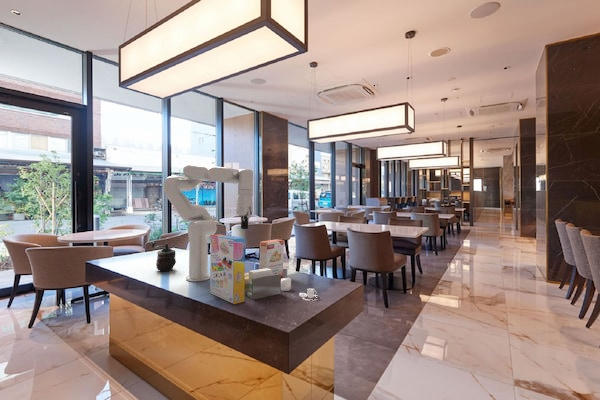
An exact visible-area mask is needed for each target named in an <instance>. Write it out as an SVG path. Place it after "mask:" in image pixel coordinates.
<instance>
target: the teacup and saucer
mask: <svg viewBox="0 0 600 400" xmlns="http://www.w3.org/2000/svg"><path fill="white" fill-rule="evenodd" d="M317 293H318V292H317V291H316V290H315V288H307V289H306V293H305V292H299V294H298V296H299V297H300V298H301V299H302V300H305V301H309V299H314V300H313V301H317V300H318V299H316V298H314V297H316V296H318V295H317Z"/></svg>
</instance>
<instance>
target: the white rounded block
mask: <svg viewBox="0 0 600 400" xmlns="http://www.w3.org/2000/svg"><path fill="white" fill-rule="evenodd" d="M291 290H292V278H291V277H280V291H282V292H288V291H291Z"/></svg>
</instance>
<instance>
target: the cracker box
mask: <svg viewBox="0 0 600 400" xmlns="http://www.w3.org/2000/svg"><path fill="white" fill-rule="evenodd" d="M284 241H285V240H283V239H278V238H276V239H271V240H269V239H268V240H262V241H260V242H259V269H265V268H269V269H272V275H273V274H280V278H284V254H285V253H284V252H285V251H284V247H285V243H284Z"/></svg>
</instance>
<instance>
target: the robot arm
mask: <svg viewBox="0 0 600 400" xmlns="http://www.w3.org/2000/svg"><path fill="white" fill-rule="evenodd" d="M182 169H183V170H182V171H183V174H184V176H183V175H171V176H168V177H166V178H165V180H164V182H163V193H164V195H165V196H166V198H167V200H168V201H169V202H170V203H171V205H172V206H173V208H174V209H175V211H176V213H177V214H178V215H179V217H180V218H181V219H182V221H183V222H184V223H190V224H189V225H188V227H187V236H188V240H189V241H188V242H189V245H188V246H189V247H188V248H189V257H188V258H189V260H188V263H189V264H188V265H189V267H188V268H189V270H188V271H189V272H188V273H189V274H188V275H187V276H186V277H185V279H186V281H188V282H194V283H195V282H203V281H208V280H210V274H209V271H208V270H209V269H208V268H209V246H208V240H207V237H211V235H216V232H217V229H218V226H217V224H216V221H215V220H214V218H213V217H212V216H211V214H210V213H209V211H208V210H207V209H206V208H205V207H204V206H203V205H200V204H192V202H191V201H190V199H188V197H187V196H186V195H185V194H184V193H183V192H190V191H193V190H194V189H195V188H196V187H198V185H200V184H201V183H202V182H204V181H207V182H217V183H218V182H219V183H226V184H235V185H236V184H237V200H236V201H237V202H236V215H238V216H239V217H240V222H241V223H240V229H241V230H248V229H249V219H250V218H251V217H252V215H253V212H254V211H253V210H254V207H253V205H254V204H253V203H254V201H253V197H254V196H253V195H254V170H253V169H249V168H240V169H236V168H232V167H223V166H213V165H210V164H209V165H208V164H202V163H193V162H192V163H186V164H185V165H184V167H183V168H182Z"/></svg>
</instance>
